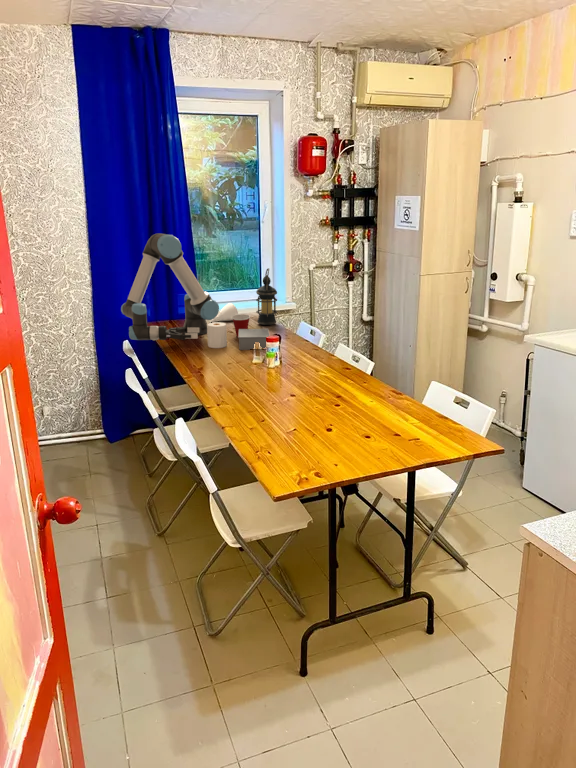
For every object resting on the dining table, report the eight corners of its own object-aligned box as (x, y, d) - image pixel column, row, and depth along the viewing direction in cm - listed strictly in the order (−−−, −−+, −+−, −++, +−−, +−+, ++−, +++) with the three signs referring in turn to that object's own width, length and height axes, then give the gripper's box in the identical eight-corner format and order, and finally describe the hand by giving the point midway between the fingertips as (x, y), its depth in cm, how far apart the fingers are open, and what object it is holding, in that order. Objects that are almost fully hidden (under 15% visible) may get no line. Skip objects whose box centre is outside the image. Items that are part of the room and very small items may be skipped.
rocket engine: (208, 309, 373) (230, 299, 383) (202, 318, 382) (224, 308, 392) (218, 324, 372) (240, 314, 382) (212, 332, 381) (234, 322, 391)
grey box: (238, 341, 337) (238, 329, 334) (268, 340, 338) (268, 328, 335) (238, 349, 319) (238, 337, 317) (269, 349, 320) (269, 336, 318)
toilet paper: (219, 349, 320) (218, 327, 316) (204, 346, 325) (203, 324, 322) (230, 345, 328) (230, 323, 325) (215, 342, 334) (215, 321, 330)
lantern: (255, 322, 382) (255, 266, 371) (276, 321, 383) (276, 266, 372) (257, 327, 369) (256, 270, 357) (278, 326, 370) (278, 269, 359)
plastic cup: (228, 337, 344) (228, 317, 340) (237, 333, 353) (236, 313, 350) (245, 339, 340) (245, 318, 336) (253, 335, 350) (253, 315, 346)
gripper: (162, 334, 335) (200, 334, 337) (156, 345, 312) (197, 345, 313) (161, 321, 333) (199, 321, 334) (155, 331, 309) (196, 331, 311)
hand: (198, 332), depth 324 cm, fingers open, 13 cm apart
